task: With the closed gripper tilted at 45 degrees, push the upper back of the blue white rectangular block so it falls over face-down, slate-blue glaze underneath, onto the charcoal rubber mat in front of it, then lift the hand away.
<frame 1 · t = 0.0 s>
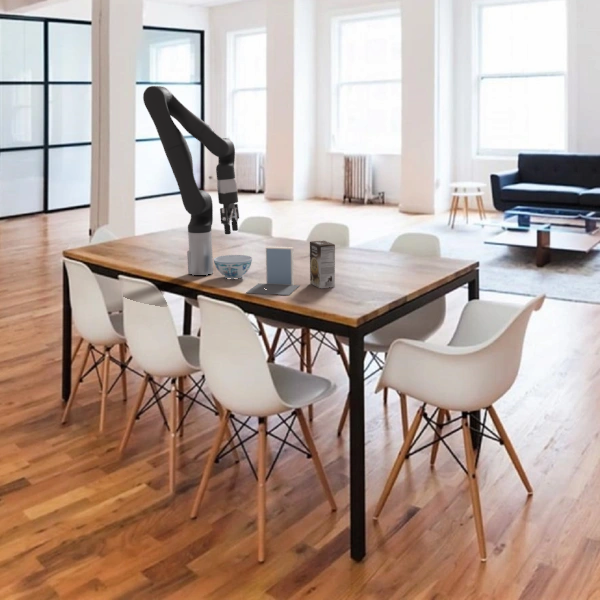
hand: (231, 232, 284), 17 cm above the table, tool pointing down, fingers open, 8 cm apart
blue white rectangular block: (280, 284, 272), on the table
coffee box: (322, 285, 269), on the table
rubber mat: (273, 289, 263), on the table
chinaware: (233, 278, 284), on the table
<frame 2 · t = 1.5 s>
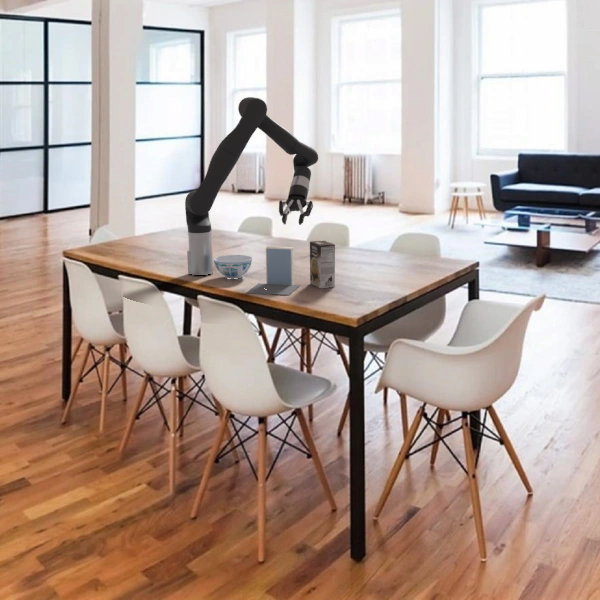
hand: (292, 223, 284), 20 cm above the table, tool tilted 45°, fingers open, 5 cm apart
nothing on the table moved.
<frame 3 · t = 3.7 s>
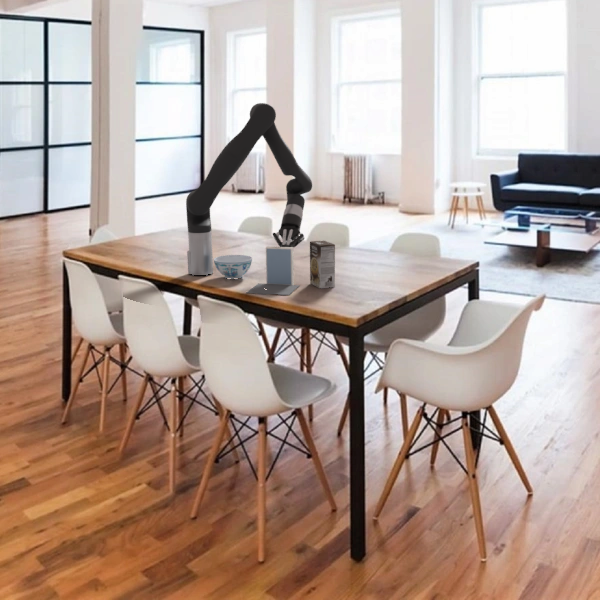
hand: (284, 254, 276), 10 cm above the table, tool tilted 45°, fingers closed
nothing on the table moved.
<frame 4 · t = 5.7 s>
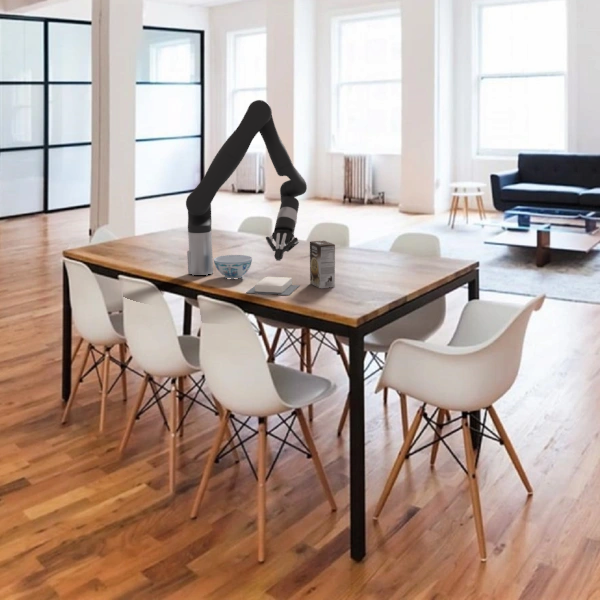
hand: (278, 259, 267), 10 cm above the table, tool tilted 45°, fingers closed
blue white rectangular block: (279, 280, 271), point 2 cm above the table, tilted 90°, touching rubber mat
everything else where it was.
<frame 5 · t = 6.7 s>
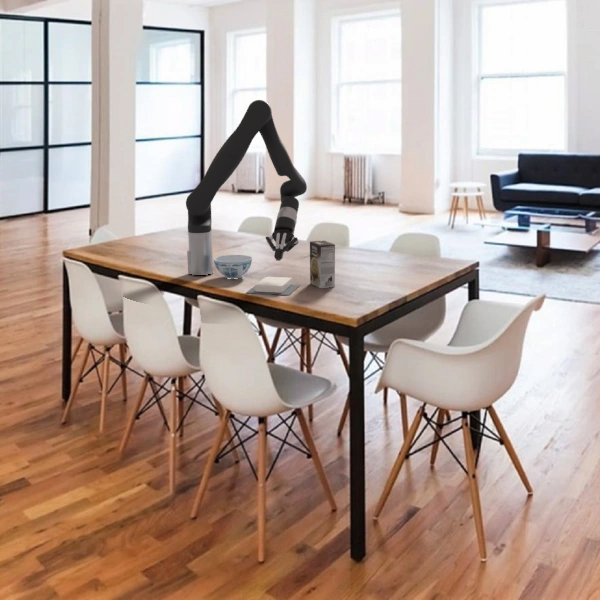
hand: (277, 259, 267), 10 cm above the table, tool tilted 45°, fingers closed
nothing on the table moved.
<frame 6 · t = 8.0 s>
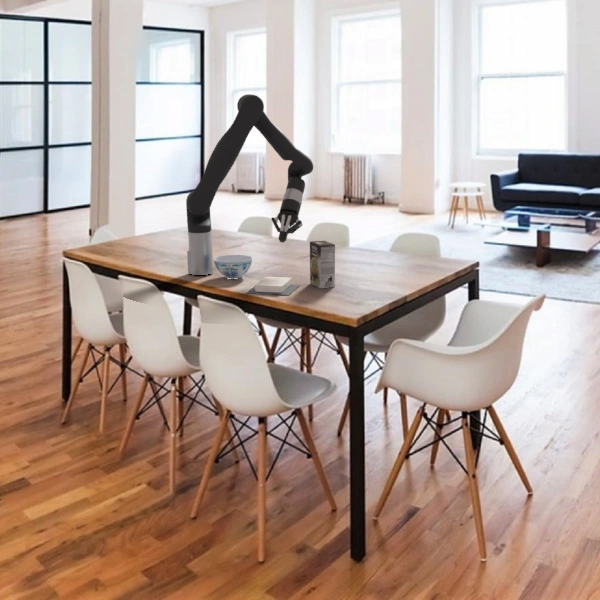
hand: (281, 241, 280), 14 cm above the table, tool tilted 35°, fingers closed
nothing on the table moved.
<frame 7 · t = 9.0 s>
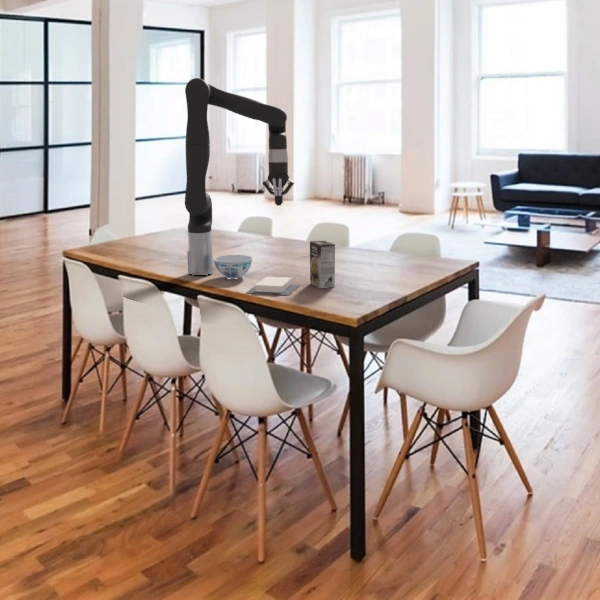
hand: (278, 205, 287), 27 cm above the table, tool pointing down, fingers closed
nothing on the table moved.
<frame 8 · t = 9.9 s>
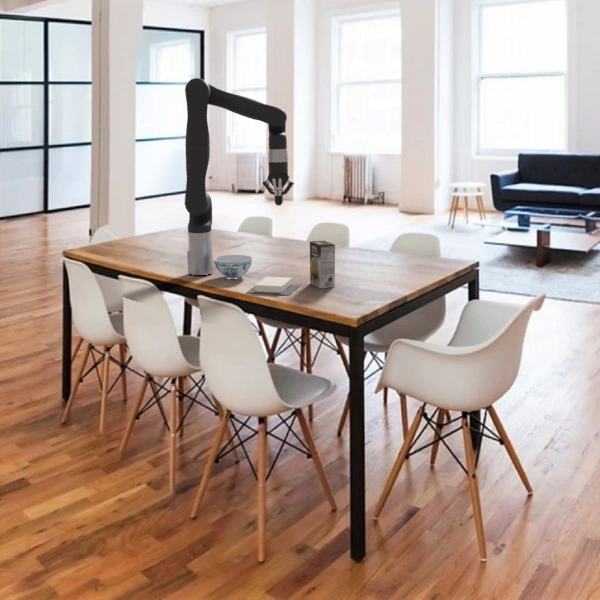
hand: (278, 205, 287), 27 cm above the table, tool pointing down, fingers closed
nothing on the table moved.
at the end: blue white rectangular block tilted 90°; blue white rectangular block inside the target area (0.3 cm from its centre), point 1.7 cm above the table; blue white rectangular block touching rubber mat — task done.
